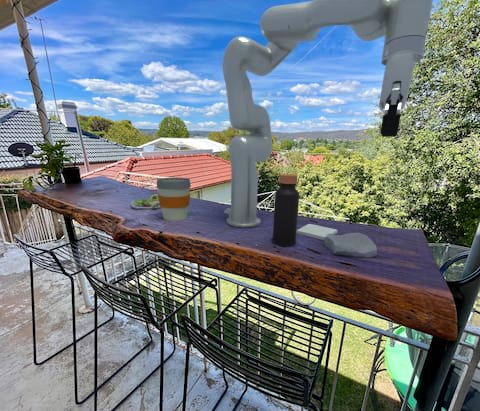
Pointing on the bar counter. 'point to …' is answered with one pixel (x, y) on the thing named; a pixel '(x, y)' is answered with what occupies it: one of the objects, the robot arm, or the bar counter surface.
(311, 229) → the tile
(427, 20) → the robot arm
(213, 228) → the bar counter surface
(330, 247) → the stone block
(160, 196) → the reusable coffee cup
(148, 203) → the salad plate
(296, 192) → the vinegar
